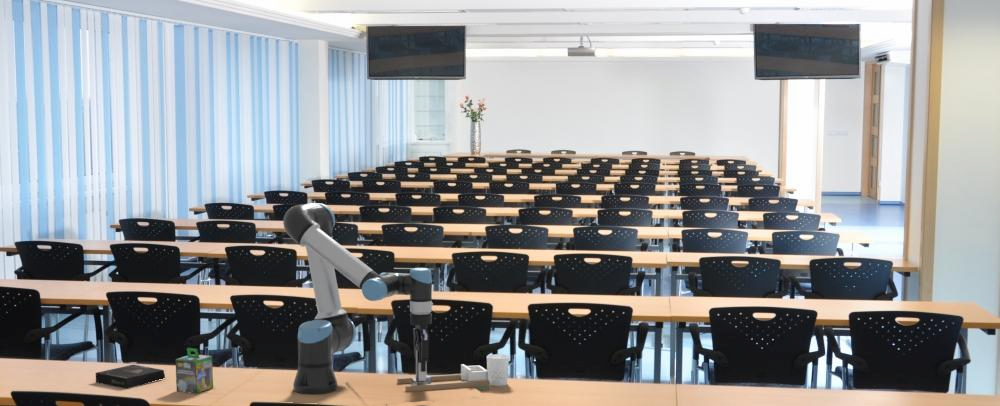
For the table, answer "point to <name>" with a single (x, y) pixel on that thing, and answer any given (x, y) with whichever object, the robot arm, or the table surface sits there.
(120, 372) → the flat black box
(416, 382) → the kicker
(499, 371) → the white cup
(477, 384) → the pitch
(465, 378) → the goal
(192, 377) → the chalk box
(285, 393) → the table surface
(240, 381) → the table surface
